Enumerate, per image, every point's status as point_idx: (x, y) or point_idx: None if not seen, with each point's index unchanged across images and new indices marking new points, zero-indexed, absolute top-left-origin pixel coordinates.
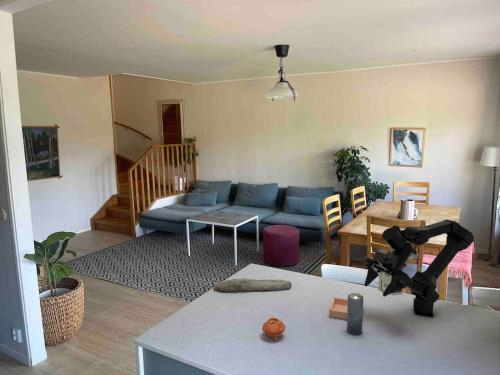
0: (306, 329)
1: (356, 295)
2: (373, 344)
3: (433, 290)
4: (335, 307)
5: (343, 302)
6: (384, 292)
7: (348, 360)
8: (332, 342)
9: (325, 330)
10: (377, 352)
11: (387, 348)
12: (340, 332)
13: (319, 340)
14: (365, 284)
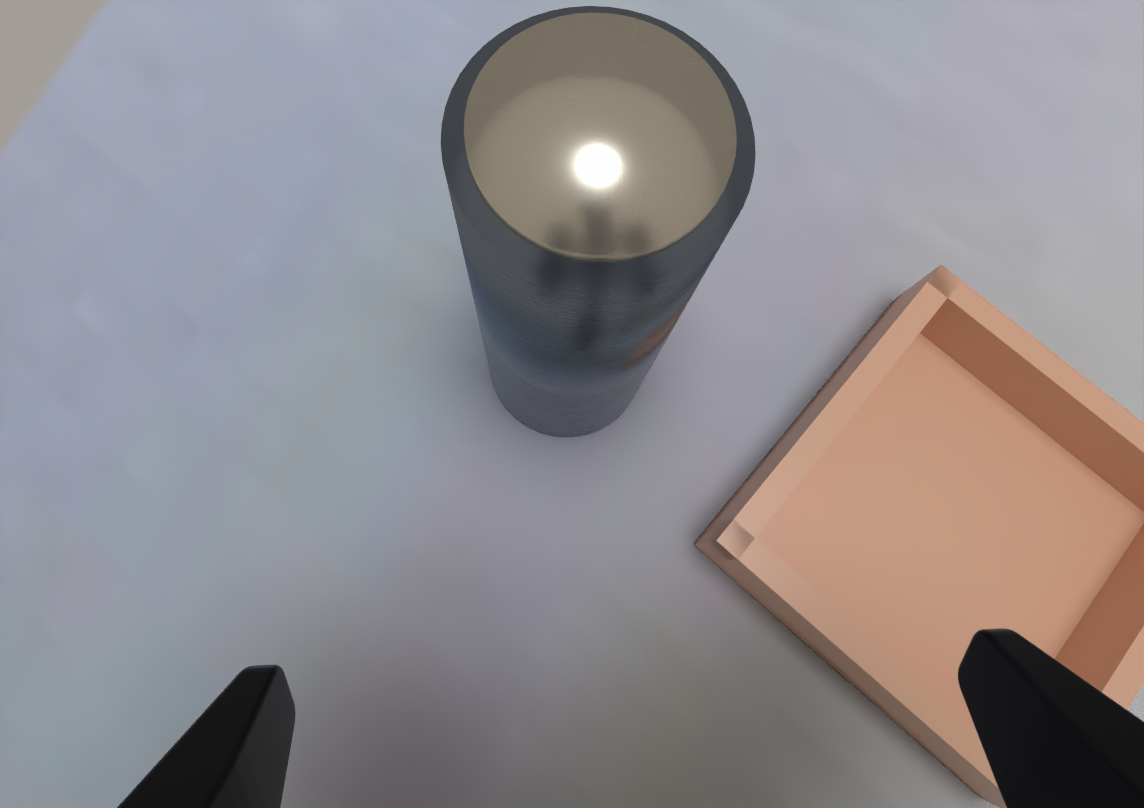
0: (760, 10)
1: (611, 155)
2: (300, 385)
3: None
4: (1063, 465)
5: (1126, 593)
6: (217, 730)
7: (220, 51)
8: None
9: None
10: (181, 331)
11: (181, 462)
12: None
13: None
14: (994, 654)
